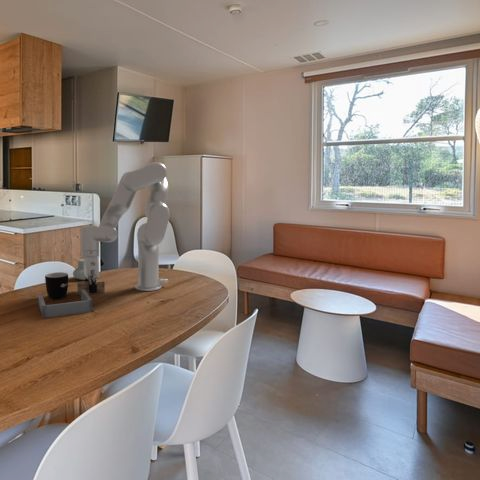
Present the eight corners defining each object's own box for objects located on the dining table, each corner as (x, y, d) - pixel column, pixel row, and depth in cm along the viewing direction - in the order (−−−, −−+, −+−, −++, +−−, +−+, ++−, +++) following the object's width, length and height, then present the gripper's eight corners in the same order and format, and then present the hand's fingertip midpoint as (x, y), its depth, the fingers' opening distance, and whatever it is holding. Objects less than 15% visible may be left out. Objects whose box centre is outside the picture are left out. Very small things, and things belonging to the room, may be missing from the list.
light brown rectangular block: (102, 291, 175) (102, 279, 174) (104, 293, 172) (104, 281, 171) (77, 294, 169) (77, 282, 169) (78, 296, 166) (78, 284, 166)
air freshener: (91, 275, 202) (91, 257, 200) (98, 278, 196) (97, 260, 195) (70, 278, 194) (70, 259, 193) (77, 282, 189) (76, 262, 187)
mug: (61, 301, 158) (60, 277, 157) (41, 299, 159) (40, 276, 158) (76, 293, 170) (75, 271, 169) (57, 291, 171) (57, 270, 170)
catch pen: (84, 299, 162) (84, 289, 161) (92, 311, 147) (92, 300, 147) (38, 305, 153) (38, 294, 152) (42, 318, 138) (42, 306, 138)
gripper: (103, 256, 163) (103, 294, 165) (95, 249, 177) (95, 284, 180) (84, 257, 159) (85, 296, 161) (77, 250, 173) (78, 286, 176)
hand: (90, 290), depth 170 cm, fingers open, 9 cm apart
